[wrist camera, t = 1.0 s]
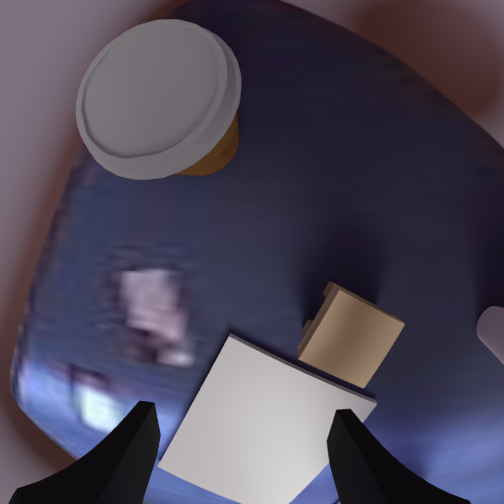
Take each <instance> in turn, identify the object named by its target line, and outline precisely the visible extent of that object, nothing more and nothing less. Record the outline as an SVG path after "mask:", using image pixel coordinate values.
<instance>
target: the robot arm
mask: <svg viewBox="0 0 504 504" xmlns="http://www.w3.org/2000/svg"><path fill="white" fill-rule="evenodd" d="M160 436H161V434H160V429H159V424H158V418H157V413H156V408H155V403H153V402H146V401H139V402H138V403H137V404H136V405H135V406H134V408H133V409H132V410H131V411H130V412H129V413H128V414H127V416H126V417H125V418H124V419H123V420H122V421H121V422H120V423H119V424H118V425H117V426H116V427H115V428H114V429H113V431H112V432H111V433H110V434H109V435H108V436H106V437H105V438H104V439H103V440H102V441H101V442H100V443H99V444H98V445H97V446H95V447H94V448H93V449H92V450H91V451H89V452H88V453H87V454H86V455H84V456H83V457H81V458H80V459H79V460H77V461H76V462H74V463H73V464H71V465H69V466H68V467H66V468H65V469H63V470H61V471H59V472H57V473H55V474H53V475H51V476H49V477H47V478H45V479H43V480H40V481H38V482H35V483H32V484H30V485H26V486H23V487H20V488H17V489H16V491H15V492H14V494H13V496H12V498H11V500H10V502H9V504H142V502H143V498H144V495H145V492H146V488H147V485H148V482H149V479H150V476H151V473H152V470H153V467H154V464H155V460H156V457H157V453H158V448H159V442H160ZM326 442H327V450H328V457H329V463H330V467H331V471H332V474H333V478H334V482H335V485H336V489H337V493H338V496H339V500H340V501H339V502H338V503H337V504H471V503H470V501H469V500H466V499H463V498H461V497H458V496H455V495H452V494H450V493H448V492H446V491H444V490H441V489H439V488H437V487H436V486H434V485H432V484H430V483H428V482H427V481H425V480H424V479H422V478H420V477H419V476H417V475H416V474H414V473H413V472H412V471H410V470H409V469H408V468H406V467H405V466H404V465H403V464H401V463H400V462H399V461H398V460H397V459H396V458H395V457H393V456H392V455H391V454H390V453H389V452H388V451H387V450H386V449H385V448H384V447H383V446H382V445H381V444H380V442H379V441H378V440H377V439H376V438H375V437H374V436H373V435H372V434H371V433H370V431H369V430H368V429H367V428H366V427H365V425H364V424H363V423H362V422H361V421H360V419H359V418H358V417H357V416H356V414H355V413H354V412H353V411H352V410H351V409H336V412H335V415H334V418H333V422H332V425H331V428H330V431H329V435H328V438H327V441H326Z"/></svg>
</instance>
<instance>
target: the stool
mask: <svg viewBox="0 0 504 504" xmlns="http://www.w3.org/2000/svg"><path fill="white" fill-rule="evenodd" d="M323 293H324V295H325V297H326V299H325V301H324V303H323V305H322V306H321V308H320V310H319V312H318V313H317V315H316V317H315V319H314V320H313V321H312V320H310V319H308V320H307V322H306V324H305V325H304V327H303V329H302V334H303V339H302V341H301V342H300V344H299V346H298V359H299V360H301V361H303V362H305V363H307V364H309V365H312V366H314V367H316V368H318V369H320V370H322V371H325V372H327V373H329V374H331V375H334V376H336V377H338V378H340V379H343V380H345V381H347V382H349V383H352V384H354V385H356V386H359V387H361V388H364V387H365V386H366V385H367V383H368V382H369V380H370V379H371V377H372V376H373V374H374V373H375V371H376V370H377V368H378V367H379V365H380V364H381V362H382V361H383V359H384V358H385V356H386V355H387V353H388V351H389V350H390V348H391V347H392V345H393V343H394V342H395V340H396V338H397V337H398V335H399V334H400V332H401V330H402V328H403V327H404V325H405V324H404V323H403V322H402V321H401V320H400V319H399V318H398V317H396V316H395V315H394V314H392V313H390V312H388V311H386V310H384V309H382V308H380V307H378V306H377V305H375V304H373V303H371V302H369V301H367V300H365V299H363V298H361V297H359V296H358V295H356V294H354V293H352V292H350V291H348V290H346V289H344V288H342V287H341V286H339V285H337V284H335V283H333V282H331V281H329V283H328V285H327V286H326V288H325V290H324V292H323Z"/></svg>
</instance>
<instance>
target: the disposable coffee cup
mask: <svg viewBox="0 0 504 504" xmlns="http://www.w3.org/2000/svg"><path fill="white" fill-rule="evenodd" d="M241 83H242V81H241V73H240V69H239V65H238V62H237V60H236V58H235V56H234V54H233V52H232V50H231V49H230V47H229V46H228V45H227V44H226V43H225V42H224V41H223V40H222V39H221V38H220V37H219V36H217V35H215V34H214V33H212V32H210V31H209V30H207V29H204V28H201V27H200V26H199V25H197V24H193V23H190V22H186V21H182V20H178V19H172V20H156V21H152V22H148V23H144V24H141V25H138V26H136V27H134V28H132V29H130V30H127V31H126V32H124V33H123V34H121V35H120V36H119V37H117V38H116V39H114V40H113V41H112V42H110V43H109V44H108V45H107V46H106V47H105V48H104V49H103V50H102V51H101V52H100V53H99V54H98V55H97V57H96V58H95V59H94V60H93V62H92V63H91V65H90V67H89V68H88V69H87V71H86V73H85V75H84V77H83V79H82V82H81V85H80V88H79V91H78V96H77V102H76V120H77V125H78V129H79V132H80V135H81V137H82V139H83V141H84V142H85V144H86V146H87V147H88V149H89V151H90V153H91V154H92V155H93V157H94V158H95V159H96V161H97V162H98V163H99V164H101V165H102V166H103V167H104V168H105V169H107V170H109V171H110V172H112V173H114V174H116V175H118V176H122V177H126V178H130V179H138V180H148V179H157V178H164V177H166V176H169V175H172V174H179V175H197V176H203V175H209V174H212V173H214V172H217V171H219V170H221V169H222V168H223V167H224V166H226V165H227V164H228V163H229V162H230V161H231V159H232V158H233V157H234V155H235V153H236V151H237V148H238V145H239V129H238V117H237V109H238V106H239V104H240V95H241Z"/></svg>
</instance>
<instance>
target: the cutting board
mask: <svg viewBox="0 0 504 504" xmlns="http://www.w3.org/2000/svg"><path fill="white" fill-rule="evenodd" d="M376 405H377V403H376V401H375V400H374V399H372V398H369V397H367V396H365V395H362V394H360V393H357V392H355V391H353V390H350V389H348V388H345V387H343V386H341V385H338V384H336V383H334V382H332V381H329V380H327V379H325V378H323V377H320V376H318V375H316V374H314V373H311V372H309V371H307V370H305V369H303V368H301V367H298V366H296V365H294V364H292V363H290V362H288V361H286V360H284V359H281V358H279V357H277V356H275V355H273V354H271V353H269V352H267V351H265V350H263V349H261V348H259V347H257V346H255V345H253V344H251V343H249V342H247V341H245V340H243V339H241V338H239V337H237V336H235V335H233V334H231V333H230V335H229V337H228V339H227V341H226V343H225V344H224V346H223V348H222V350H221V352H220V354H219V356H218V357H217V359H216V361H215V363H214V365H213V367H212V369H211V370H210V372H209V374H208V376H207V378H206V380H205V381H204V383H203V385H202V387H201V389H200V391H199V392H198V394H197V396H196V398H195V400H194V402H193V403H192V405H191V407H190V409H189V411H188V413H187V414H186V416H185V418H184V420H183V422H182V423H181V425H180V427H179V429H178V431H177V432H176V434H175V436H174V438H173V440H172V441H171V443H170V445H169V447H168V449H167V450H166V452H165V454H164V456H163V458H162V459H161V461H160V463H159V465H158V467H159V468H161V469H163V470H165V471H167V472H169V473H171V474H173V475H175V476H177V477H179V478H182V479H184V480H186V481H188V482H190V483H192V484H195V485H197V486H199V487H201V488H204V489H206V490H208V491H211V492H213V493H216V494H218V495H221V496H223V497H226V498H228V499H231V500H233V501H236V502H239V503H242V504H289V503H290V502H291V501H292V500H293V499H294V498H295V497H296V496H297V495H298V494H299V493H300V492H301V491H302V490H303V489H304V488H305V487H306V486H307V485H308V484H309V483H310V482H311V481H312V480H313V479H314V478H315V477H316V476H317V475H318V474H319V473H320V472H321V471H322V470H323V469H324V467H325V466H326V465H327V464H328V463H329V457H328V450H327V442H326V441H327V438H328V435H329V431H330V428H331V425H332V422H333V418H334V415H335V412H336V409H351V410H352V411H353V412H354V413H355V414H356V416H357V417H358V418H359V419H360V421H361V422H362V423H363V422H364V421H365V419H366V418H367V417H368V415H369V414H370V413H371V411H372V410H373V409H374V407H375V406H376Z"/></svg>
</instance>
